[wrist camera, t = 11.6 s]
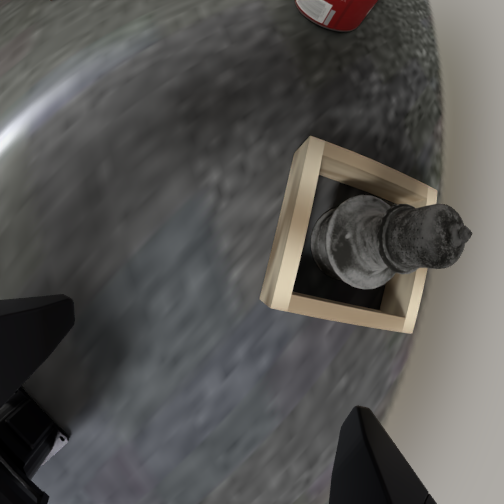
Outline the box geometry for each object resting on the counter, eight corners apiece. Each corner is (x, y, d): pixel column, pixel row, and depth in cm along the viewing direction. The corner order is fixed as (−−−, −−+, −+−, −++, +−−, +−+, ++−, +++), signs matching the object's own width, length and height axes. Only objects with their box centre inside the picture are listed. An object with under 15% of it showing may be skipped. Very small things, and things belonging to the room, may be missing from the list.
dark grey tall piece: (389, 236, 22) (516, 224, 10) (350, 299, 21) (475, 335, 9) (335, 187, 21) (450, 130, 9) (290, 252, 21) (394, 248, 9)
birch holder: (385, 324, 22) (411, 333, 18) (259, 299, 20) (270, 308, 17) (410, 197, 22) (437, 190, 19) (294, 153, 21) (310, 135, 17)
